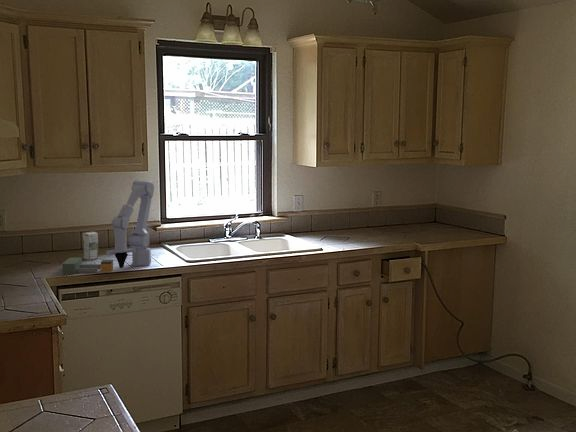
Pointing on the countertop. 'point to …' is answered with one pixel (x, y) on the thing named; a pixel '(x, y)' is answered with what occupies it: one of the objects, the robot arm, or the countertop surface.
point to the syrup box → (90, 245)
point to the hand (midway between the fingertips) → (121, 267)
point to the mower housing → (78, 266)
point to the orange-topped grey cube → (106, 265)
